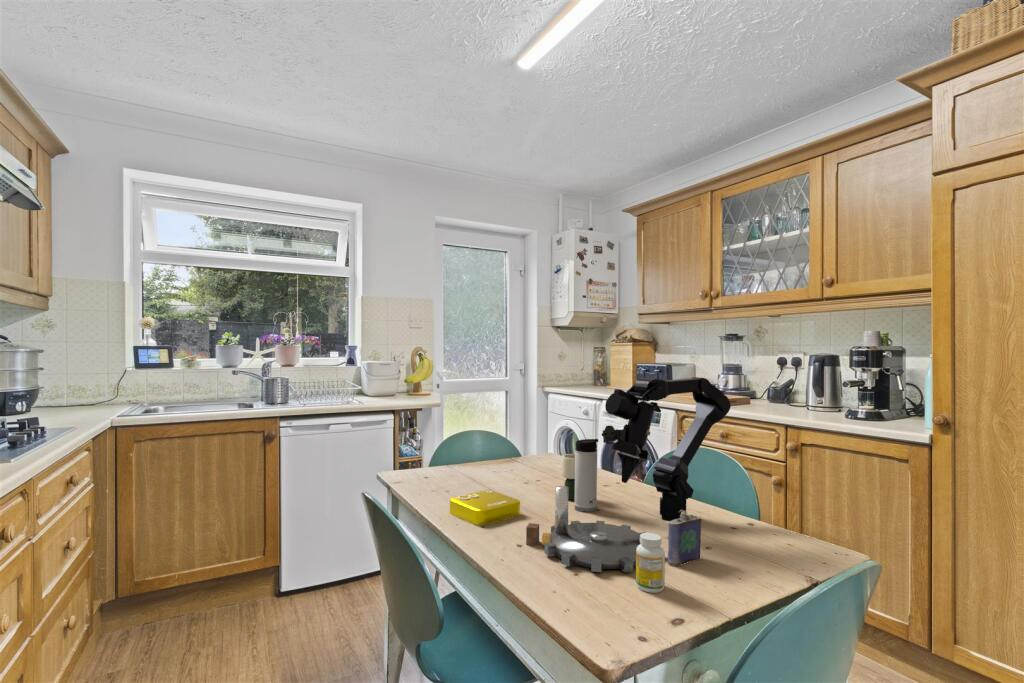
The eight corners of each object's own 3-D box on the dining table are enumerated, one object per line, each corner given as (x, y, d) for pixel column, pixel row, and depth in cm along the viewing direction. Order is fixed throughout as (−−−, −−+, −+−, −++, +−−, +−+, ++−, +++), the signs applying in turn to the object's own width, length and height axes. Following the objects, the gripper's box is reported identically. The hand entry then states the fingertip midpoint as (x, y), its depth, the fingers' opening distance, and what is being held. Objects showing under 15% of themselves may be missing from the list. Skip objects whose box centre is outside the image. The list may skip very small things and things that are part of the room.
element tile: (479, 528, 129) (480, 509, 129) (446, 513, 140) (446, 496, 140) (523, 516, 139) (523, 499, 139) (488, 503, 150) (489, 487, 150)
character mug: (594, 501, 152) (594, 458, 152) (574, 505, 149) (575, 460, 149) (572, 492, 162) (572, 451, 162) (553, 495, 158) (554, 453, 158)
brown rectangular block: (539, 541, 120) (539, 524, 120) (536, 545, 117) (536, 528, 117) (529, 539, 120) (529, 523, 120) (526, 544, 117) (526, 527, 117)
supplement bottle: (657, 596, 93) (657, 543, 93) (630, 587, 97) (631, 536, 97) (669, 586, 97) (669, 536, 97) (643, 578, 101) (643, 529, 101)
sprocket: (666, 540, 120) (666, 487, 120) (642, 582, 97) (643, 517, 98) (566, 522, 131) (566, 474, 132) (524, 556, 109) (525, 498, 109)
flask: (674, 567, 106) (674, 516, 106) (663, 562, 108) (663, 512, 109) (703, 559, 111) (704, 509, 111) (692, 554, 113) (693, 506, 113)
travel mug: (597, 513, 141) (598, 441, 142) (573, 511, 143) (574, 440, 143) (598, 506, 148) (598, 437, 148) (575, 504, 149) (576, 436, 149)
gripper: (618, 420, 146) (603, 474, 143) (600, 411, 129) (584, 471, 127) (656, 431, 140) (642, 487, 138) (643, 423, 124) (627, 485, 122)
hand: (623, 482), depth 131 cm, fingers closed
